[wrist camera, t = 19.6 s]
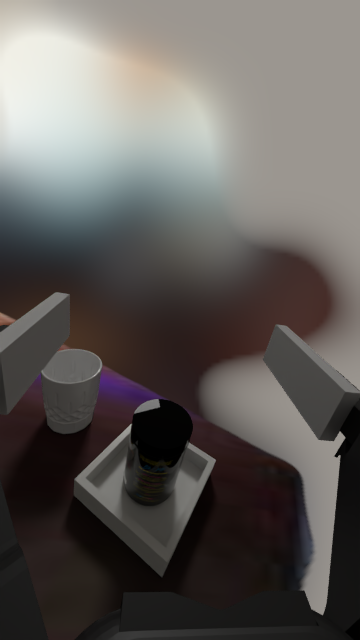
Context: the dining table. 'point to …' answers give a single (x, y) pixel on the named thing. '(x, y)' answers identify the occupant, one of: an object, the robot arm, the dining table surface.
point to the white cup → (70, 389)
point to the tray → (137, 520)
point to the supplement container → (156, 451)
